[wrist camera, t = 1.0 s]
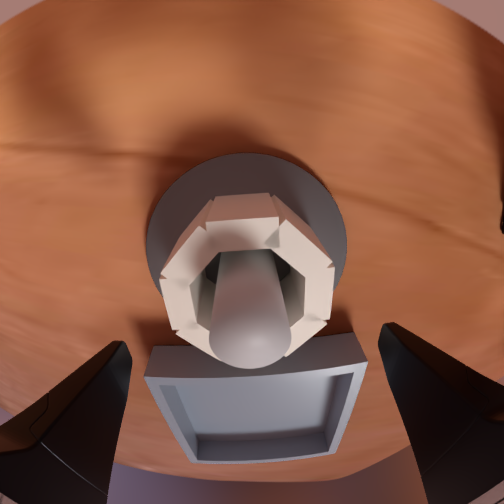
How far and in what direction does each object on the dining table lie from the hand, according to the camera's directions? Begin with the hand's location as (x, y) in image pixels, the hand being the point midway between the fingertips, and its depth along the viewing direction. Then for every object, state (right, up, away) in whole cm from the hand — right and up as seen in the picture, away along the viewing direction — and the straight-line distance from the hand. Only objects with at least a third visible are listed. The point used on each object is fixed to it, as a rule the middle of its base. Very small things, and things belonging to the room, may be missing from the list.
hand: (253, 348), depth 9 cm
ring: (0, +3, +6) cm, 7 cm away
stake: (0, +3, +7) cm, 7 cm away
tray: (0, -9, +12) cm, 15 cm away
